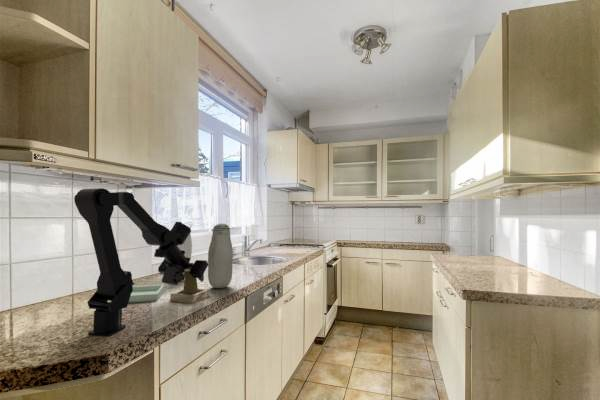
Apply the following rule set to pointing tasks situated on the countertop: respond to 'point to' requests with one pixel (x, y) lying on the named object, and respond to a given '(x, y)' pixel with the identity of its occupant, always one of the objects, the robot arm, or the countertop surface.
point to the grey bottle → (220, 257)
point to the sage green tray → (146, 293)
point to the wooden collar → (189, 296)
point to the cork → (190, 284)
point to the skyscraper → (187, 246)
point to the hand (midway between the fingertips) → (193, 279)
